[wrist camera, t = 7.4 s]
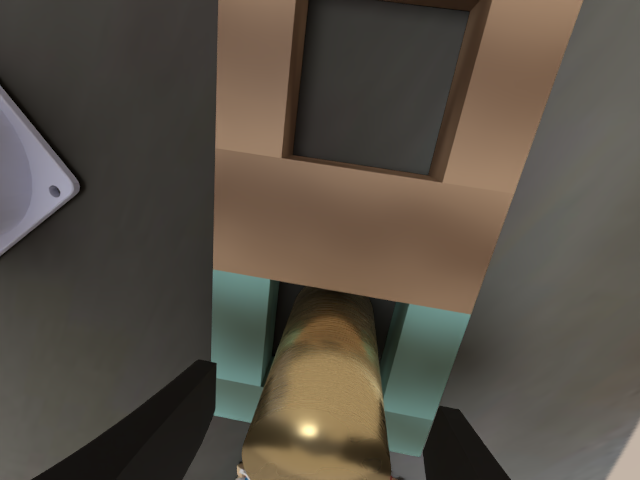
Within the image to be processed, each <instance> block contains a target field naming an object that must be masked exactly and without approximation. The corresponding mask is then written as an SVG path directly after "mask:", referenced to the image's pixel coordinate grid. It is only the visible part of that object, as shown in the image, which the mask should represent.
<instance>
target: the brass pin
mask: <svg viewBox="0 0 640 480" xmlns="http://www.w3.org/2000/svg"><path fill="white" fill-rule="evenodd" d="M242 461H243V465H244V469H245V471H246V473H247V475H248V477H249V479H250V480H390V477H391V464H390V455H389V446H388V437H387V428H386V419H385V411H384V402H383V393H382V384H381V375H380V366H379V358H378V349H377V340H376V331H375V322H374V313H373V307H372V304H371V301H370V300H369V298H368V296H362V295H356V294H351V293H345V292H339V291H333V290H328V289H322V288H316V287H311V286H305V287H304V288H303V289H302V290H301V291H300V292H299V294H298V295H297V297H296V299H295V302H294V305H293V307H292V310H291V313H290V316H289V319H288V321H287V324H286V327H285V330H284V333H283V335H282V338H281V341H280V344H279V346H278V349H277V352H276V355H275V358H274V360H273V363H272V366H271V369H270V371H269V374H268V377H267V380H266V383H265V385H264V388H263V391H262V394H261V397H260V399H259V402H258V405H257V408H256V410H255V413H254V416H253V419H252V422H251V424H250V427H249V430H248V433H247V435H246V438H245V441H244V444H243V448H242Z"/></svg>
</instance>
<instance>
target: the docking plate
mask: <svg viewBox="0 0 640 480" xmlns="http://www.w3.org/2000/svg"><path fill="white" fill-rule="evenodd" d="M308 1H309V0H218V43H217V93H216V143H215V193H214V242H213V292H212V342H211V362H214V363H217V372H216V408H215V412H214V415H215V416H220V417H225V418H229V419H234V420H239V421H244V422H249V423H251V422H252V419H253V416H254V413H255V410H256V408H257V405H258V402H259V399H260V397H261V394H262V391H263V388H264V385H265V383H266V380H267V377H268V374H269V371H270V369H271V366H272V363H273V360H274V358H275V357H274V356H272V349H273V340H274V330H275V320H276V311H277V301H278V291H279V282H280V281H282V282H288V283H293V284H299V285H305V286H311V287H316V288H322V289H328V290H333V291H339V292H345V293H351V294H356V295H362V296H368V297H373V298H379V299H385V300H391V301H396V304H395V308H394V311H393V315H392V319H391V323H390V327H389V331H388V335H387V339H386V343H385V347H384V351H383V355H382V358H381V362H380V375H381V384H382V393H383V402H384V411H385V419H386V428H387V437H388V446H389V451H393V452H397V453H402V454H407V455H412V456H417V457H420V456H421V453H422V450H423V447H424V445H425V442H426V439H427V436H428V433H429V431H430V428H431V425H432V422H433V419H434V417H435V414H436V411H437V408H438V405H439V403H440V400H441V397H442V394H443V391H444V389H445V386H446V383H447V380H448V377H449V375H450V372H451V369H452V366H453V363H454V361H455V358H456V355H457V352H458V349H459V347H460V344H461V341H462V338H463V335H464V333H465V330H466V327H467V324H468V321H469V319H470V316H471V313H472V310H473V307H474V305H475V302H476V299H477V296H478V293H479V291H480V288H481V285H482V282H483V279H484V277H485V274H486V271H487V268H488V265H489V263H490V260H491V257H492V254H493V251H494V249H495V246H496V243H497V240H498V237H499V235H500V232H501V229H502V226H503V223H504V221H505V218H506V215H507V212H508V209H509V207H510V204H511V201H512V198H513V195H514V193H515V190H516V187H517V184H518V181H519V179H520V176H521V173H522V170H523V167H524V165H525V162H526V159H527V156H528V153H529V151H530V148H531V145H532V142H533V139H534V137H535V134H536V131H537V128H538V125H539V123H540V120H541V117H542V114H543V111H544V109H545V106H546V103H547V100H548V97H549V95H550V92H551V89H552V86H553V83H554V81H555V78H556V75H557V72H558V69H559V67H560V64H561V61H562V58H563V55H564V53H565V50H566V47H567V44H568V41H569V39H570V36H571V33H572V30H573V27H574V25H575V22H576V19H577V16H578V13H579V11H580V8H581V5H582V2H583V0H381V1H389V2H397V3H406V4H414V5H422V6H431V7H439V8H447V9H455V10H464V11H470V14H469V18H468V22H467V26H466V29H465V33H464V37H463V41H462V45H461V49H460V53H459V57H458V61H457V65H456V69H455V73H454V76H453V80H452V84H451V88H450V92H449V96H448V100H447V104H446V108H445V112H444V116H443V120H442V123H441V127H440V131H439V135H438V139H437V143H436V147H435V151H434V155H433V159H432V163H431V167H430V170H429V174H428V175H422V174H415V173H409V172H402V171H395V170H389V169H382V168H376V167H369V166H362V165H356V164H349V163H342V162H336V161H329V160H323V159H316V158H309V157H303V156H296V155H293V146H294V137H295V127H296V117H297V108H298V98H299V88H300V79H301V69H302V59H303V50H304V40H305V30H306V21H307V11H308Z"/></svg>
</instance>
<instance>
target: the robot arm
mask: <svg viewBox="0 0 640 480" xmlns="http://www.w3.org/2000/svg"><path fill="white" fill-rule="evenodd" d="M57 188H58V189H59V190H60V193H59V192H58V190H57ZM79 189H80V186H79V182H78V180H77V179H76V177H75V176H74V175H73V174H72V172H71V171H70V170H69V169H68V168H67V166H66V165H65V164H64V163H63V161H62V160H61V159H60V158H59V157H58V155H57V154H56V153H55V152H54V150H53V149H52V148H51V147H50V146H49V144H48V143H47V142H46V141H45V139H44V138H43V137H42V136H41V135H40V133H39V132H38V131H37V130H36V128H35V127H34V126H33V125H32V124H31V122H30V121H29V120H28V119H27V117H26V116H25V115H24V114H23V113H22V111H21V110H20V109H19V108H18V106H17V105H16V104H15V103H14V102H13V100H12V99H11V98H10V97H9V95H8V94H7V93H6V92H5V90H4V89H3V88H2V87H1V86H0V256H1V255H2V254H3V253H5V252H6V251H7V250H8V249H10V248H11V247H12V246H13V245H15V244H16V243H17V242H18V241H19V240H21V239H22V238H23V237H24V236H26V235H27V234H28V233H29V232H31V231H32V230H33V229H34V228H36V227H37V226H38V225H39V224H41V223H42V222H43V221H44V220H45V219H47V218H48V217H49V216H50V215H52V214H53V213H54V212H55V211H57V210H58V209H59V208H60V207H62V206H63V205H64V204H65V203H67V202H68V201H69V200H70V199H71V198H73V197H74V196H75V195H76V194H77V193H78V192H79ZM216 372H217V363H214V362H209V361H204V360H197V361H196V362H194V363H193V364H192V365H191V366H190V367H188V368H187V369H186V370H185V371H184V372H182V373H181V374H180V375H179V376H177V377H176V378H175V379H174V380H173V381H171V382H170V383H169V384H168V385H166V386H165V387H164V388H163V389H161V390H160V391H159V392H158V393H156V394H155V395H154V396H152V397H151V398H150V399H149V400H147V401H146V402H145V403H143V404H142V405H141V406H140V407H138V408H137V409H136V410H134V411H133V412H132V413H130V414H129V415H128V416H126V417H125V418H124V419H122V420H121V421H119V422H118V423H117V424H115V425H114V426H112V427H111V428H110V429H108V430H107V431H105V432H104V433H103V434H101V435H100V436H98V437H97V438H96V439H94V440H93V441H91V442H90V443H88V444H87V445H85V446H84V447H82V448H81V449H79V450H78V451H76V452H75V453H73V454H72V455H70V456H68V457H67V458H65V459H64V460H62V461H61V462H59V463H57V464H56V465H54V466H53V467H51V468H50V469H48V470H46V471H45V472H43V473H41V474H40V475H38V476H36V477H35V478H33V479H31V480H182V479H183V477H184V476H185V474H186V472H187V470H188V468H189V466H190V464H191V463H192V461H193V459H194V457H195V455H196V453H197V451H198V449H199V447H200V446H201V444H202V441H203V439H204V437H205V434H206V432H207V430H208V427H209V425H210V422H211V420H212V417H213V415H214V412H215V408H216ZM423 457H424V465H425V474H426V480H511V479H510V478H509V477H508V475H507V474H506V473H505V471H504V470H503V469H502V467H501V466H500V465H499V463H498V462H497V461H496V459H495V458H494V457H493V455H492V454H491V453H490V451H489V450H488V448H487V447H486V446H485V444H484V443H483V442H482V440H481V439H480V437H479V436H478V435H477V433H476V432H475V431H474V429H473V428H472V426H471V425H470V424H469V422H468V421H467V420H466V418H465V417H464V415H463V414H462V413H461V411H460V410H459V409H453V408H448V407H443V406H439V408H438V411H437V414H436V417H435V419H434V422H433V425H432V428H431V431H430V433H429V436H428V439H427V442H426V445H425V447H424V450H423Z"/></svg>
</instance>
